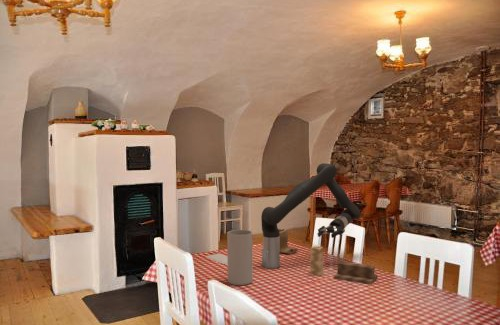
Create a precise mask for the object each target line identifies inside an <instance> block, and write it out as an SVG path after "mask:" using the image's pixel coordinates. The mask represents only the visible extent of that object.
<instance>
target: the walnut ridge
mask: <svg viewBox="0 0 500 325" xmlns="http://www.w3.org/2000/svg"><path fill="white" fill-rule="evenodd" d="M336 270H337V273H335V274H334V275H333V279H335V280H338V281H339V280H340V281H347V282H353V283H359V284H364V285H365V284H366V285H372V284H373V283H374V282H375V281H376V280H377V279H378V274H375V265H367V264H362V263H361V264H359V263H355V262H354V263H353V262H346V261H338V263H337V269H336Z"/></svg>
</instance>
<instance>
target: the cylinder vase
mask: <svg viewBox="0 0 500 325" xmlns="http://www.w3.org/2000/svg"><path fill="white" fill-rule="evenodd" d="M226 238H227V240H226V241H227V247H226V248H227V256H228V266H227V282H228V283H229V284H231V285H234V286H245V285H249V284H252V283H253V278H254V276H253V272H254V271H253V270H254V268H253V263H254V262H253V260H254V259H253V257H254V256H253V231H252V230H247V229H234V230H230V231H227V236H226Z"/></svg>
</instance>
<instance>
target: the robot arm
mask: <svg viewBox="0 0 500 325" xmlns="http://www.w3.org/2000/svg"><path fill="white" fill-rule="evenodd" d="M337 174H338V168H337V166H336V165H335V164H331V163H319V165H318V166H317V168H316V175H314V176H313V177H311V178H308V179H306V180H304V181H302V182H300V183H299V184H297V185H296V186H295V187H293V188H292V189H291V190H290V191H289V192H288V194H287V195H286V197H285V198H284V199H283V201H281V202H280V203H279V204H278V205H277V206H275V207H273V206H266V207H265V208H264V209H263V210H262V211H261V231H262V237H263V238H262V244H263V245H262V246H263V247H262V249H261V267H263V268H265V269H278V268H280V267H281V266H280V265H281V264H280V263H281V261H280V260H281V259H280V258H281V257H280V253H281V252H280V232H279V230H278V229H279V227H278V224H279V223H280V222H281V221H282V220H284V218H285V217H286V216H287V215H288V214H290V213H291V212H292V211H293V210H294V209H296V208H297V207H299V205H300V204H302V203H303V202H305V201H306V200H308V198H309V197H311V196H312V195H313V194H314V193H316V192H317V191H318V190H319V189H320V188H322V187H323V186H324V185H325V186H326V187H327V188H328V190H329V191H330V193H331V194H332V196H333V197H334V199H335V201H336V202H337V204H338V205H339V206H340V208H341V209H343V210H342V212H341V213H340V215H338V216H337V217H336V218H334V219H333V220H332V221H330V223H329V224H328V226H325V225H322V226H321V227H319V228H318V229H317V231H318V232H317V236H318V237H319V238H320V237H321V236H322V235H327V234H331V235H330V237H331V238H335V237H336V236H342V235H343V234H344V233H345V232H346V230H345V229H346V228H347V226H348V225H350V223H351V222H352V221H353V220H357V219H358V220H359V218H361V210H360V209H359V207H358V206H357V205H356V204H355V203H354V202H353V201H352V200H351V199H350V197H349V196H348V194H347V192H346V191H345V189H343V188H342V186H340V184H339V183H338V182H337V181H336V180H335V177H336V176H337Z"/></svg>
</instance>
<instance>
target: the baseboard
mask: <svg viewBox="0 0 500 325" xmlns="http://www.w3.org/2000/svg"><path fill="white" fill-rule="evenodd" d="M205 257H207V258H210V259H212V260H214V261H213V262H215V261H216V263H218V262H219V263H218V264H221V263H222V264H221V265H224V264H225V265H224V266H227V267H228V255H224V254H221V253H220V252H217V253H214V254H212V252H210V253H209V254H208V255H205ZM207 258H206V259H207ZM212 260H211V261H212Z"/></svg>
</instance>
